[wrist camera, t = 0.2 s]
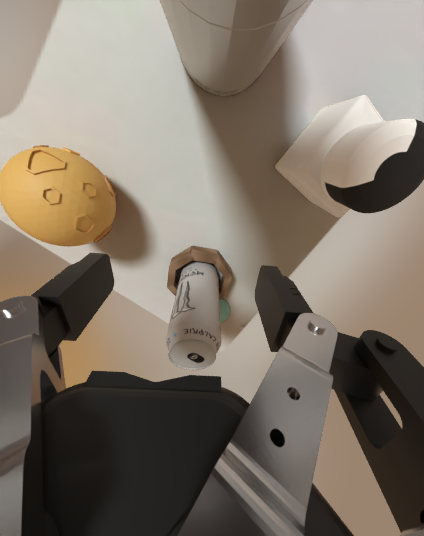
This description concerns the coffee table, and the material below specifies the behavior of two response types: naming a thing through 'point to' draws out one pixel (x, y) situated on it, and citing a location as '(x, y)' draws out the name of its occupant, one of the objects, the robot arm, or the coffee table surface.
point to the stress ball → (57, 196)
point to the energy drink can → (195, 318)
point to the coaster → (224, 310)
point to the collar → (202, 256)
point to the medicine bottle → (355, 159)
